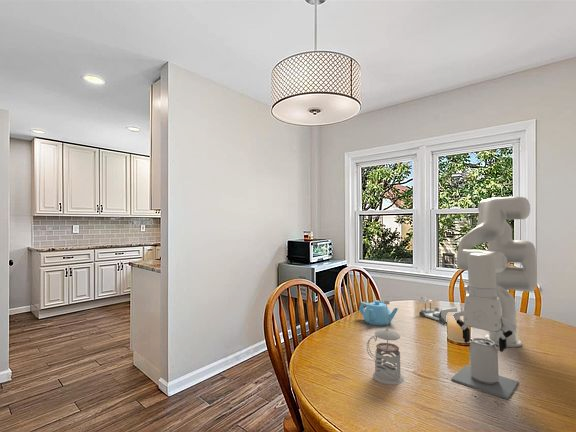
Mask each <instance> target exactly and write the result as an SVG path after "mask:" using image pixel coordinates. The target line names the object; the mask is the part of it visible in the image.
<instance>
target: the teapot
mask: <svg viewBox="0 0 576 432" xmlns="http://www.w3.org/2000/svg"><path fill="white" fill-rule="evenodd" d="M384 301H385V300H379V299H378V300H374V301H372V302H369V303H367V302H365V301H361V302H360V305H359V309H358V311H359V312H360V314H361V315H362V317H363V320H364V321H365V322H366V323H367V324H368V323H369V324H368V325H371V326H378V327H379V326H382V327H383V326H388V325H389V324H390V323H391V322H392V321H393V319H394V318H395V315H396V314H397V312H398V310H399V308H398V307H394V308H393V310H392V311H390V309H389V307H388V306H387V312H386V304H384Z"/></svg>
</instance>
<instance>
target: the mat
mask: <svg viewBox="0 0 576 432" xmlns="http://www.w3.org/2000/svg"><path fill="white" fill-rule="evenodd" d="M451 381H452V382H454V383H457V384H460V385H464V386H467V387H468V388H469V387H470V388H473V389H475V390H478V391H481V392H484V393H487V394H489V395H492V396H496V397H498V398H501V399H504V400H507V401H509V400H510V398H511V396H512V395H513V393H514V391H515V390H516V388H517V386H518V385H519V381H518V380H515V379H512V378H508V377H506V376H502V375H499V380H498V381H497V382H496V383H494V384H485V383H482V382H479V381H477V380H475V379H474V377H472V376H471V371H470V365H464V366H463V367H461V369H460V370H459V371H458V372H456V373H455V374H454V375H453V376H452V377H451ZM511 394H512V395H511Z"/></svg>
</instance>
